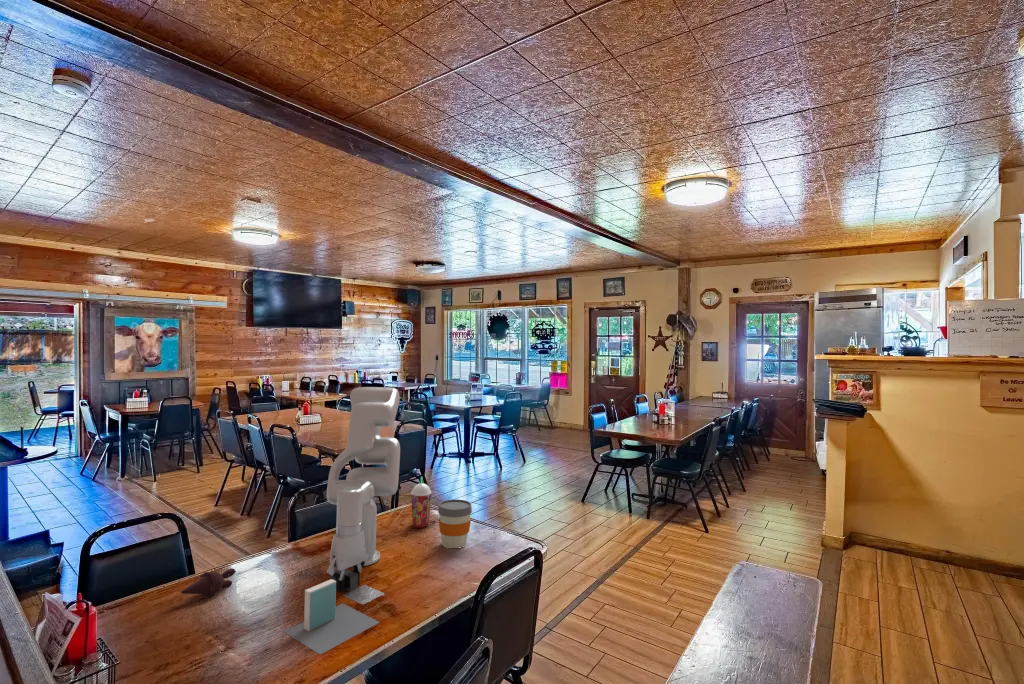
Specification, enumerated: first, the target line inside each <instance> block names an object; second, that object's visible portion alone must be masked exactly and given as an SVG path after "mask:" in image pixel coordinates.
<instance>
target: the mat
mask: <svg viewBox="0 0 1024 684" xmlns="http://www.w3.org/2000/svg"><path fill="white" fill-rule="evenodd" d="M378 624H380V621H378V620H376V619H374V618H372V617H370V616H369V615H366V614H365V613H362V612H361V611H359V610H356V609H354V608H353V607H351V606H349V605H347V604H345V603H340V604H338V605H336V607H335V618H334V619H332V620H330V621H328V622H326V623H324V624H322V625H320V626H318V627H316V628H314V629H312V630H310V631H307V630H306V629H304V621H302V622H299V623H298V624H296V625H294V626H291V627H290V628H287V629H285V630H283V631H282V632H283V633H285V634H286V635H288V636H289V637H291V638H293V639H294V640H296V641H297V642H299V643H301V644H302V645H304V646H305V647H307V648H309V649H310V650H312V651H313V652H314V653H317V654H318V655H320V656H321V655H323V654H324V653H326V652H328V651H330V650H332V649H333V648H335V647H337V646H339V645H341V644H343V643H345V642H347V641H348V640H350V639H353V638H354V637H357V636H358V635H359V634H361V633H364V632H365V631H366V630H369V629H370V628H372V627H373V626H376V625H378Z"/></svg>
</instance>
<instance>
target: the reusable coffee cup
mask: <svg viewBox="0 0 1024 684" xmlns="http://www.w3.org/2000/svg"><path fill="white" fill-rule="evenodd" d="M437 512H438V514H439V515H438V516H439V518H438V526H439V533H440V535H441V536H440V537H441V544H442V547H443V546H444V547H443V548H445V547H447V548H446V549H448V548H459V547H463V546H465V545H466V546H467V543H468V541H467V540H468V535H469V533H470V528H471V522H472V519H471V514H472V512H473V510H472V503H471V502H470V501H468V500H465V499H447V500H443V501H440V503H439V504H438V510H437ZM466 546H465V547H466ZM463 548H464V547H463Z"/></svg>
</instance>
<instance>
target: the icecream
mask: <svg viewBox="0 0 1024 684" xmlns="http://www.w3.org/2000/svg"><path fill="white" fill-rule="evenodd" d="M235 574H236V569H235V568H229V569H226V570H225V571H224V572H222V573H220V572H218V571H209V572H207V571H205V572H204V573H203V574H201V575H200V578H199V579H198V580H196V581H195V582H194V583H192V584H190V585H189V586H187V587H186V588H185V589H183V590H181V591H180V592H181V594H183V595H185V594H186V595H187V594H188V595H203V597H206V598H208V597H209V598H210V597H212V596H213V595H216V594H217V593H219V592H220V591H221V590H222V589H227V588H229V587H231V586H232V585H233V581H232V580H230V579H229V580H228V578H231V577H232V576H234V575H235ZM225 579H226V580H225ZM226 587H227V588H226Z"/></svg>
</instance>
